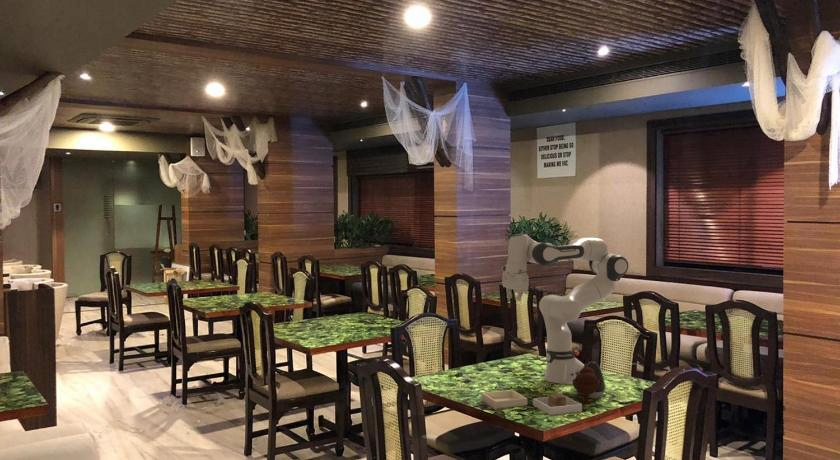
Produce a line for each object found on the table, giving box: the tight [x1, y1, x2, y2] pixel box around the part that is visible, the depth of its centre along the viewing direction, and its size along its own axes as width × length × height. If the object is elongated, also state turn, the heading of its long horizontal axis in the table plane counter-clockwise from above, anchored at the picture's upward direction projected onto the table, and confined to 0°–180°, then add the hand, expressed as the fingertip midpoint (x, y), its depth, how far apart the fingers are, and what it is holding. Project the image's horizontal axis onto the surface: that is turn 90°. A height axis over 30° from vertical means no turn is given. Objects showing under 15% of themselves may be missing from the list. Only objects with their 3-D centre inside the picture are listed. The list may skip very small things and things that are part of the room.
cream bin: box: [481, 389, 528, 411], centre depth 279 cm, size 14×14×4 cm
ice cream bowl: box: [572, 367, 600, 405], centre depth 277 cm, size 11×11×15 cm
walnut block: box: [547, 393, 567, 407], centre depth 270 cm, size 5×5×5 cm
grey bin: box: [532, 396, 583, 416], centre depth 270 cm, size 14×14×4 cm
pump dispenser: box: [584, 361, 606, 400], centre depth 288 cm, size 10×10×15 cm
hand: (513, 299), depth 309 cm, fingers open, 8 cm apart
